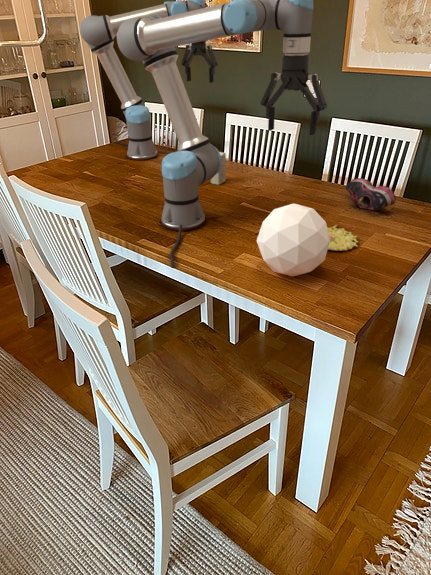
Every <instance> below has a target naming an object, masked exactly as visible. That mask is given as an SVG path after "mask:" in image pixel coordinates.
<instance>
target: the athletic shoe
mask: <svg viewBox="0 0 431 575" xmlns="http://www.w3.org/2000/svg"><path fill="white" fill-rule="evenodd" d="M345 190H346V192H348V194H349V196H345V199H347V200H351V201H353V203H354V205H355V206H358V207H359V208H360V209H361V210H368V211H369V210H371V211H372V212H377V211H378V210H382V209H385V208H387V207H390V206H393V205H395V203H396V195H395V192H394V190H392V189H391V188H390V187H389V186H386V185H385V186H384V185H379V186H374V185H373V184H372V182H371V181H369V180H368V179H365V178H362V177H357V178H353V179H352V180H351V181H349V182H348V183H347V185H346V186H345Z"/></svg>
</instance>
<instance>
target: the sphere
mask: <svg viewBox="0 0 431 575" xmlns="http://www.w3.org/2000/svg"><path fill="white" fill-rule="evenodd" d="M327 227H328V224H327V222H326V220H324V219H323V217H322V216H321V215H320V213H318V212H317V211H316V209H315V208H312V207H309V206H305V205H302V204H297V203H294V202H293V203H290V204H286V205H284V206H280V207H277V208H274V209H273V210H272V211H271V212H270V213H269V214H268V215H267V217H266V218H265V219H264V220H263V221H262V223H261V226H260V229H259V232H258V235H257V238H256V243H257V247H258V250H259V252H260V254H261V257H262V259H263V261H264V262H265V264H266V265H267V266H268V267H269V268H270V269H271V271H272V272H273V273H277V274H281V275H285V276H288V277H293V278H294V277H296V276H300V275H303V274H307V273H310V272H312V271H314V270H315V269H316V268H317V267H319V265H321V264H322V263H323V262H324V261H326V257H327V253H328V251H329V250H328V246H329V242H330V238H329V233H328V229H327Z"/></svg>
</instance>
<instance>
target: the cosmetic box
mask: <svg viewBox="0 0 431 575" xmlns="http://www.w3.org/2000/svg"><path fill="white" fill-rule="evenodd" d="M219 153H220V155H221V167H220V170H219V172H218V173H217V174H216V175H215V176H214V177H213V178H212V179H210V184H213V185H217V186H220V185H221V184H223V183H224V182H226V180H227V169H226V168H227V167H226V165H227V162H226V161H227V160H226V158H227V156H226V155H227V154H226V152H223V151H219Z"/></svg>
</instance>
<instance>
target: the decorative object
mask: <svg viewBox="0 0 431 575" xmlns="http://www.w3.org/2000/svg"><path fill="white" fill-rule="evenodd" d="M327 229H328V233H329V238H330V242H329V246H328V250H327V251H335V252H341V251H348V250H352V249H354V247H356V248H358V247H359V245H358V244H357V243H359V240H357V238H359V237H358V235H353V234H352V231H347V230H346V229H345V228H344V227H342V228H338V224H335V225H333V226H331V227H328V226H327Z"/></svg>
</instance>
